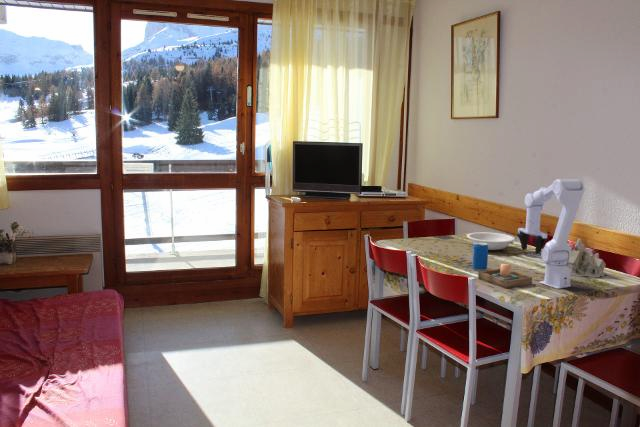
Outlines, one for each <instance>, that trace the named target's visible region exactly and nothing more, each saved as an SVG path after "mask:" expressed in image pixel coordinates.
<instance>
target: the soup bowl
mask: <svg viewBox="0 0 640 427" xmlns="http://www.w3.org/2000/svg"><path fill="white" fill-rule="evenodd" d="M466 238H467V239H469V241H470V242H471V243H472V245H474V243H475V242H484V243H487V245H488V251H499V250H503V249H506V248H507V247H508V246H509V245H510V244H511V243H512V242H513V241H515V240H516V239H515V237H514V236H512V235H509V234H505V233H501V232H485V231H484V232H483V231H482V232H481V231H479V232H471V233H468V234H467V235H466Z"/></svg>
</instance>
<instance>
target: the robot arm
mask: <svg viewBox="0 0 640 427" xmlns="http://www.w3.org/2000/svg"><path fill="white" fill-rule="evenodd" d="M584 193H585V185H584V182H583V180H581V179H580V178H575V179H574V178H573V179H561V178H560V179H559V178H558V179H557V178H556V179H555V180H553V182H552V184H550V185H549V186H548V187H545V186H541V187H540V188H539V189H538V190H535V191H534V192H533V193H527V194H526V195H525V196H524V204H525V206H526V217H525V218H526V220H525V228H524V227H518V228H517V233H518V234H517V237H518V239H519V241H520V246H521V250H523V251H524V250H525V251H526V250H527V249H528V244H529V243H528V242H529V238H530V236H533V239H534V243H535V247H534V248H535V254H540V255H541V256H540V257H541V259H542V261H543V263H545V267H544V279H543V280H540V281H539V284H542V285H545V286H548V287H551V288H555V289H558V290H559V289H564V288H569V287H572V285H571V279H572V278H571V270H570V268H569V267H567V266H566V265H565V264H567V262H568V261H569V259H570V256H571V254H570V252H571V247H570V245H569V243H568V240H569V237H570V234H571V231H572V227H573V225H574V222H575V220H576V215H577V213H578V209H579V206H580V203H581V202H582V198H583V196H584ZM554 195H555V196H556V199H557V201H558V202H559V204H562V208H561V212H560V215H559V218H558V222H557V225H556V227H555V230H554V234H553V237H552V239H551V240H549V241H547V240H548V233H546V232H543V231H541V230H540V227H541V217H542V216H541V214H542V211H543V208H544V205H545V203H547V202H549V201H550V200H551V199H552V198H553V196H554ZM546 241H547V242H546ZM544 244H545V245H544Z"/></svg>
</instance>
